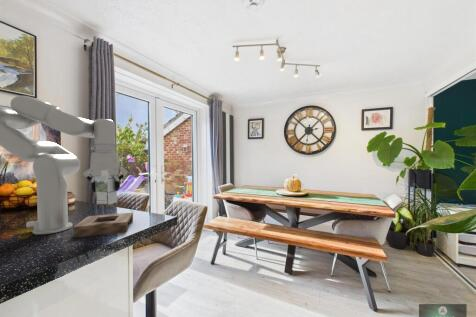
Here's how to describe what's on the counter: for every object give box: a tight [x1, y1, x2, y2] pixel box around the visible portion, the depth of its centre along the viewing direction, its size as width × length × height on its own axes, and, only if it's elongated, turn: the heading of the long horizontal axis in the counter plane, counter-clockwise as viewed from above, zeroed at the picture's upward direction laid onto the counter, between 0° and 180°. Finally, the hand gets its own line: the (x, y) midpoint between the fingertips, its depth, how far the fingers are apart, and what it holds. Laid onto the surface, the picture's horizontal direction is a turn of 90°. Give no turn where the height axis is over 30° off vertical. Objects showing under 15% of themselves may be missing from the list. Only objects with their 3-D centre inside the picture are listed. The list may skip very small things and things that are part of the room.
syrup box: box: [95, 170, 118, 206], centre depth 89 cm, size 6×6×14 cm
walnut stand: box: [72, 212, 134, 238], centre depth 89 cm, size 18×15×4 cm
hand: (106, 190), depth 89 cm, fingers closed on syrup box, 7 cm apart
